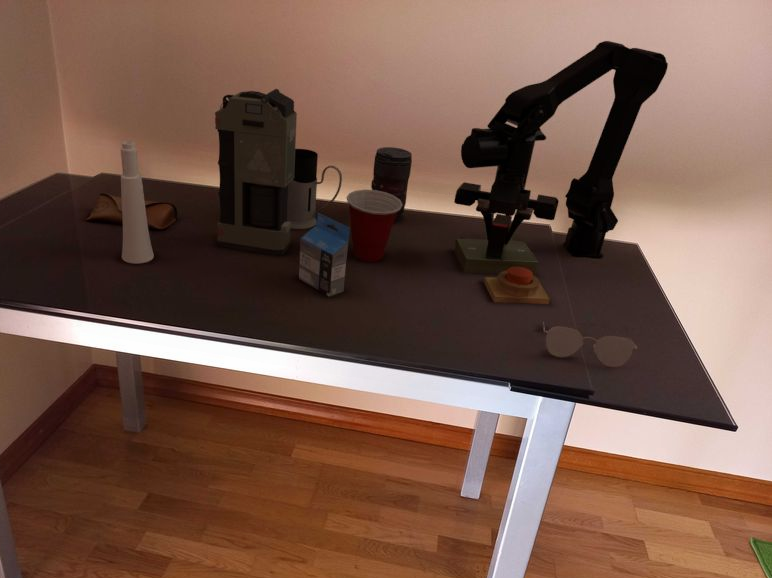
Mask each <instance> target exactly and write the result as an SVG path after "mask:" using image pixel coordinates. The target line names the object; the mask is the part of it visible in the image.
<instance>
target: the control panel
mask: <svg viewBox="0 0 772 578" xmlns="http://www.w3.org/2000/svg"><path fill="white" fill-rule="evenodd" d="M454 244H455V245H454V249H453V250H454V251H453V252H454V255H455V256H456V259H457V261H458V263H459V265H460V267H461V269H462V272H463V273H465V274H466V273H467V274H468V273H469V274H473V273H474V274H490V275H491V274H494V275H499V274H500V272H503V271H507V270H508V269H509V268H511V267H523V268H526V269H529V270H530V271H531V272H532V273H533V276H536V272H537V268H538V264H539V261H538V259H537V257H536V256H535V255H534V253H533V252H532V250H531V249H530V248H529V247H528V245H527V244H526V242H525V241H524V240H510V241H509V242H508V244H507V245H506V246H505V249H504V252H503V254H502V257H497V256H492V255H487V254H486V251H487V246H488V239H479V238H477V239H476V238H456V239H455V243H454Z"/></svg>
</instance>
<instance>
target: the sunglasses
mask: <svg viewBox="0 0 772 578" xmlns="http://www.w3.org/2000/svg"><path fill="white" fill-rule="evenodd" d="M542 330H543V333H546V335H545V347H546V350H547V351H548V353H549V354H551V355H552V356H554V357H557V358H568V357H570V356H572V355H573V354H575V353H576V352H577V351H579V350H580V349H581V348H582V347H583V345H584V339H591V340H593V341H595V343H594V344H592V350H593V352H594V353H595V355H596V357H597V359H598V360H599V362H601V364H603V365H604V366H606V367H609V368H619V367H622V366H624V365H625V364H626V363H627V362H628V361H629V360H630V358H631V357H632V354H633V352H634V350H637V349H638V346H637V345H636V344H635V343H634V342H633V340H632V339H631V338H630V337H628V336H627V337H622V336H615V335H604V336H602V337H599V338H598V339H596V338H594V337H590V336H584V337H583V335H582V333H580V332H579V330H576V329H574V328H570V327H568V326H567V327H566V326H560V325H559V326H553V327H551V328H549V329H548V330H546V329H545V322H544V321H543V323H542Z"/></svg>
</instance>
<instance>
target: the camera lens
mask: <svg viewBox="0 0 772 578" xmlns="http://www.w3.org/2000/svg"><path fill="white" fill-rule="evenodd" d="M412 156H413V154H412V152H411V151H409V150H406V149H404V148H399V147H393V146H392V147H391V146H385V147H379V148H377V150H376V153H375V155H374V161H373V173H372V175H373V178H372V180H371V184H370V189H371V190H377V191H382V192H386V193H388V194H391V195H393V196H395V197H397V198H398V199H399V200H401V202H402V204H403V205H402V207H401V209H400V211H398V213H397V215H396V217H395V219H394V222H393V223H397V222H399V221H400V220H401V219H402V217H403V213H404V211H405V208H406V204H407V196H408V195H407V194H408V185H409V179H410V177H411V170H412V163H413V161H412Z"/></svg>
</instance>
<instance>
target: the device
mask: <svg viewBox="0 0 772 578" xmlns="http://www.w3.org/2000/svg"><path fill="white" fill-rule="evenodd" d="M297 115H298V113H297V112H296V111H295V101H294V99H292V98H290V97H289V96H287V95H285V94H284V93H281V91H280V89H278V88H274V89H273V90H270V91H269V92H268V93H263V92H260V91H255V90H249V91H240V92H238V93H236V94H226V95H224V96H223V97H222V103H221V104H220V106H219V110H216V111H215V112H214V116H215V117H214V124H215V127H214V128H215V130H217V132H218V133H217V134H218V143H219V144H218V146H219V147H218V160H217V165H218V169H219V189H218V190H219V191H218V194H217V195H218V197H219V221H217V223H216V228H217V237H216V241H217V246H218V247H222V248H227V249H235V250H240V251H247V252H253V253H260V254H265V255H271V256H272V255H273V256H282V255H284V254H285V253H286V252H287V251H288V249H289V248H290V244H291V243H290V242H291V229H292V228H291V222H287V204H288V184H289V183H290V182H291V181H292V180H293V179H294V170H295V149H296V140H297Z"/></svg>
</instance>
